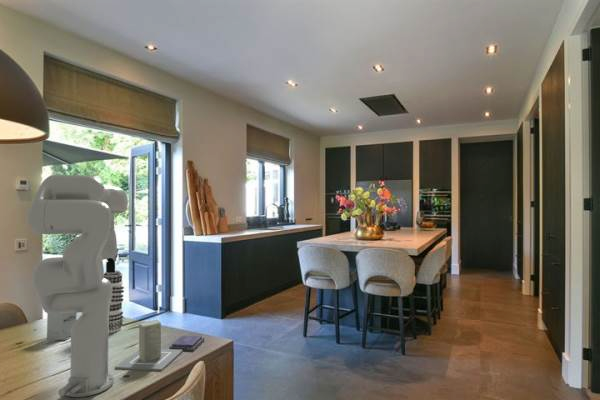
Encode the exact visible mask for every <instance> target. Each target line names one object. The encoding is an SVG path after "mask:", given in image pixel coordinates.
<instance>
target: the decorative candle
mask: <svg viewBox="0 0 600 400" xmlns="http://www.w3.org/2000/svg"><path fill="white" fill-rule="evenodd" d="M123 275H124V273H122V272H121V271H120V270H115V272H114V273H107V272H106V271H104V278H105V279H108V280H109V281H110V282H111V284H112V289H113V291H112V298H111V304H110V311H109V334H112V333H117V332H119V331H121V330H123V325H124V323H123V322H124V316H123V315H124V311H123V307H122V305H123V304H122V303H123V302H124V298H123V297H124V294H123V293H124V292H125V290H123V289H125V287H124V286H123Z"/></svg>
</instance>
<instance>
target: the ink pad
mask: <svg viewBox="0 0 600 400" xmlns="http://www.w3.org/2000/svg"><path fill="white" fill-rule="evenodd" d="M204 342H205V337H203V336H200V335H182V336H180V337H178V339H176V340H175V341H174V342H173V343H171V344H170V346H169V349H177V350H183V352H185V351H187V352H190V351H191V352H195V351H196V349H197V348H199V346H201V345H202V343H204Z"/></svg>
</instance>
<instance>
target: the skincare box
mask: <svg viewBox="0 0 600 400" xmlns="http://www.w3.org/2000/svg"><path fill="white" fill-rule="evenodd" d="M138 327H139V328H138V329H139V331H138V332H139V338H138V339H139V340H138V342H139V343H138V346H139V349H138V350H139V358H140V360H141V361H142V362H146V361H150V360H153V359H157V358H161V349H162V322H161V321H159V320H158V319H154V320H150V321H144V322H140V323H138Z"/></svg>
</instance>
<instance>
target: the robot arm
mask: <svg viewBox="0 0 600 400" xmlns="http://www.w3.org/2000/svg"><path fill="white" fill-rule="evenodd" d="M128 198H129V197H128V194H127V192H126V191H125V190H124V189H123V188H119V187H115V186H111V185H107V184H104V183H103V182H102V181H101V179H99V178H97V177H96V176H91V175H85V174H84V175H83V174H82V175H81V174H79V175H78V174H52V175H49V176H47V177H46V178H45V179H44V180H43V181H42V182H41V184H40V185H39V187H38V189H37V191H36V193H35V195H34V197H33V200H32V202H31V203H30V206H29V210H28V212H27V224H28V227H29V229H30V230H31V231H32V232H34V233H35V234H39V235H67V234H69V235H72V234H73V235H74V234H80V235H78V236H77V237H76V238H75V239H74V240H72V241H71V242H70V243H69V244H68V245H67V246H66V248H64V250H63V252H62V257H61V256H60V257H48V258H44V259H43V260H41V261H39V262H38V264H36V266H35V268H34V269H35V270H34V272H33V286H34V289H35V293H36V295H37V297H38V300H39V302H40V305H41V307H42V310H43V312H45V313H48V314H62V313H72V312H77V313H82V314H81V315H80V316H79V317H78V318H76V321H75V323H74V324H73V326H72V329H71V336H70V371H69V372H70V374H69V375H70V377H68V378H67V379H68V382H67V383H66V384H65V385H64V386H63V387H61V388H60V389H58V396H60V397H63V396H67V397H69V398H70V397H71V398H86V397H88V396H89V397H90V396H94V395H98V394H99V393H103V392H104V391H106V390H108V389H109V388H110V387H112V385H113V384H114V380H115V378H114V376H113V375H112V374H111V373H109V341H110V340H109V334H110V333H109V311H110V304H111V298H112V291H113V289H112V284H111V282H110V281H109V280H108V279H105V278H104V273H105V272H107V273H114V272H115V271H116V262H117V257H118V253H119V248H118V243H117V234H116V230H115V214H123V213H125V212H126V210H127V209H128V205H129V199H128ZM103 260H106V262H105V269H104V262H103Z"/></svg>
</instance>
